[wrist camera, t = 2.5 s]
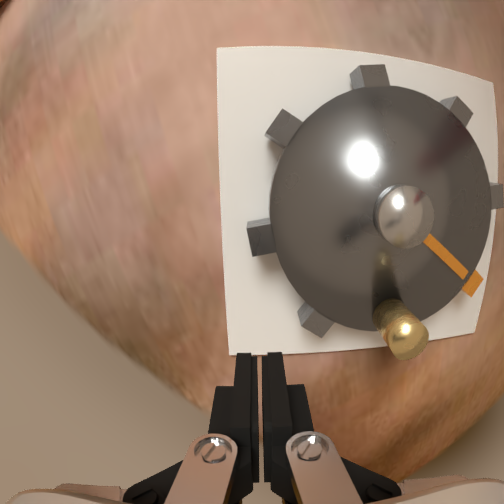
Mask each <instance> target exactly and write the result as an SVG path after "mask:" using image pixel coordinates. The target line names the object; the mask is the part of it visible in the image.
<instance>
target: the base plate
mask: <svg viewBox="0 0 504 504" xmlns="http://www.w3.org/2000/svg"><path fill="white" fill-rule="evenodd" d="M375 64H385V67H386V71H387V74H388V78H389V82H390V86H400V87H404V88H408V89H412V90H415V91H418V92H420V93H423V94H425V95H427V96H429V97H431V98H433V99H434V100H436V101H438V102H440V101H441V100H443V99H446V98H450V97H454V96H458V97H459V98H460V99H461V100H462V101H463V102H464V103H465V104H466V106H467V107H468V108H469V109H470V110H471V111H472V112H473V115H472V117H471V119H470V121H469V123H468V125H467V126H466V129H467V130H468V131H469V133H470V134H471V136H472V137H473V139H474V141H475V142H476V144H477V146H478V148H479V150H480V153H481V155H482V157H483V160H484V163H485V166H486V169H487V173H488V177H489V182H493V183H498V133H497V116H496V104H495V95H494V86H493V82H490V81H487V80H484V79H481V78H478V77H475V76H472V75H468V74H465V73H462V72H458V71H455V70H451V69H447V68H443V67H440V66H435V65H431V64H427V63H423V62H418V61H413V60H408V59H403V58H398V57H392V56H387V55H380V54H374V53H367V52H359V51H351V50H341V49H330V48H316V47H296V46H245V47H225V48H217V103H218V144H219V175H220V201H221V224H222V245H223V264H224V282H225V298H226V314H227V329H228V344H229V355H237V353H251V355H267V352H282V354H297V353H315V352H330V351H343V350H355V349H365V348H375V347H384V346H388V345H387V344H386V342H385V341H384V339H383V338H382V336H381V335H380V333H379V332H378V331H363V330H357V329H353V328H349V327H345V326H343V325H340V324H338V323H334V324H333V325H332V326H331V328H330V329H329V330H328V331H327V332H326V334H325V335H324V336H323V337H322V338H320V337H319V336H317V335H315V334H313V333H312V332H310V331H308V330H306V329H305V328H303V327H301V324H300V320H299V317H298V313H297V311H298V310H299V308H300V307H301V306H302V304H303V303H304V302H305V301H304V300H303V299H302V297H301V296H300V295H299V294H298V293H297V292H296V290H295V289H294V287H293V286H292V285H291V283H290V282H289V280H288V278H287V277H286V275H285V273H284V271H283V269H282V267H281V265H280V262H279V259H278V256H277V254H276V252H275V253H270V254H265V255H260V256H255V257H252V253H251V248H250V244H249V239H248V234H247V229H246V227H247V222H248V221H254V220H259V219H264V218H269V210H268V208H269V191H270V186H271V180H272V176H273V172H274V169H275V166H276V163H277V160H278V158H279V156H280V154H281V152H282V150H283V148H282V147H280V146H279V145H277V144H276V143H274V142H273V141H271V140H270V139H268V138H266V137H265V136H264V135H265V132H266V131H267V130H268V128H269V127H270V125H271V124H272V122H273V121H274V120H275V118H276V117H277V115H278V114H279V112H280V111H281V110H282V108H283V109H284V110H286V111H287V112H289V113H290V114H292V115H293V116H295V117H296V118H298V119H299V120H301V121H302V122H303V121H304V120H305V119H306V118H307V117H309V116H310V115H311V114H312V113H313V112H314V111H316V110H317V109H318V108H319V107H320V106H322V105H323V104H325V103H326V102H328V101H330V100H331V99H333V98H334V97H336V96H338V95H341V94H343V93H345V92H348V91H350V90H353V87H352V83H351V79H350V75H349V74H350V73H351V72H352V71H353V70H355V69H356V68H357V67H358V66H359V65H375ZM495 217H496V209H493V210H491V221H490V228H489V233H488V237H487V241H486V245H485V248H484V251H483V253H482V256H481V259H480V261H479V263H478V265H477V267H476V269H475V270H476V271H477V272H478V273H479V274H480V275H481V276H482V277H483V281H482V283H481V284H480V286H479V287H478V289H477V290H476V291H475V293H474V294H473V296H472V297H470V296H469V295H467V294H466V293H464V292H463V291H462V290H461V291H460V292H459V293H458V294H457V295H456V296H455V297H454V298H453V299H452V300H451V301H450V302H449V303H448V304H447V305H446V306H444V307H443V308H442V309H440V310H439V311H438V312H436V313H435V314H433V315H432V316H430V317H428V318H427V319H425V320H422V321H420V322H421V323H422V324H423V325H424V326H425V327H426V328H427V330H428V332H429V340H435V339H442V338H448V337H453V336H459V335H465V334H470V333H474V332H475V328H476V324H477V320H478V317H479V313H480V308H481V304H482V300H483V295H484V291H485V286H486V281H487V275H488V270H489V264H490V258H491V251H492V244H493V236H494V227H495ZM429 340H428V341H429Z"/></svg>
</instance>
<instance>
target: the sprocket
mask: <svg viewBox="0 0 504 504" xmlns="http://www.w3.org/2000/svg"><path fill="white" fill-rule="evenodd" d="M349 75H350V79H351V83H352V87H353V90H350V91H348V92H345V93H343V94H341V95H338V96H336V97H334V98H333V99H331V100H330V101H328V102H326V103H325V104H323V105H322V106H320V107H319V108H318V109H317V110H316V111H314V112H313V113H312V114H311V115H310V116H309V117H307V118H306V119H305V120H304V121H303V122H302V121H301V120H299V119H298V118H296V117H295V116H293V115H292V114H290V113H289V112H287V111H286V110H284V109H283V108H282V110H281V111H280V112H279V114H278V115H277V117H276V118H275V120H274V121H273V122H272V124H271V125H270V127H269V128H268V130H267V131H266V132H265V135H264V136H265V137H266V138H268V139H270V140H271V141H273V142H274V143H276V144H277V145H279V146H280V147H282V148H283V150H282V152H281V154H280V156H279V158H278V160H277V163H276V166H275V169H274V172H273V176H272V180H271V186H270V191H269V208H268V210H269V218H264V219H259V220H254V221H248V222H247V227H246V229H247V234H248V239H249V244H250V248H251V253H252V257H255V256H260V255H265V254H270V253H275V252H276V254H277V256H278V259H279V262H280V265H281V267H282V269H283V271H284V273H285V275H286V277H287V278H288V280H289V282H290V283H291V285H292V286H293V287H294V289H295V290H296V292H297V293H298V294H299V295H300V296H301V297H302V299H303V300H304V301H305V302H304V303H303V304H302V306H301V307H300V308H299V310H298V311H297V313H298V317H299V320H300V324H301V327H303V328H305V329H306V330H308V331H310V332H312V333H313V334H315V335H317V336H319V337H320V338H322V337H323V336H324V335H325V334H326V332H327V331H328V330H329V329H330V328H331V326H332V325H333V324H334V323H338V324H340V325H343V326H345V327H349V328H353V329H357V330H363V331H378V332H379V333H380V335H381V336H382V338H383V339H384V341H385V342H386V344H387V345H388V347H389V348H390V350H391V351H392V353H393V354H394V356H395V357H396V358H398V359H400V360H409V359H412V358H414V357H416V356H417V355H419V354H420V353H421V352H422V351H423V350H424V348H425V347H426V345H427V343H428V340H429V332H428V330H427V328H426V327H425V326H424V325H423V324H422V323H421V322H420V321H422V320H425V319H427V318H428V317H430V316H432V315H433V314H435V313H436V312H438V311H439V310H440V309H442V308H443V307H444V306H446V305H447V304H448V303H449V302H450V301H451V300H452V299H453V298H454V297H455V296H456V295H457V294H458V293H459V292H460V291H461V290H462V291H463V292H464V293H466V294H467V295H469V296H470V297H472V296H473V294H474V293H475V291H476V290H477V289H478V287H479V286H480V284H481V283H482V281H483V277H482V276H481V275H480V274H479V273H478V272H477V271H476V270H475V269H476V267H477V265H478V263H479V261H480V259H481V256H482V253H483V251H484V248H485V245H486V241H487V237H488V233H489V228H490V221H491V210H493V209H498V208H503V207H504V203H503V184H499V183H493V182H489V177H488V173H487V169H486V166H485V163H484V160H483V157H482V155H481V153H480V150H479V148H478V146H477V144H476V142H475V141H474V139H473V137H472V136H471V134H470V133H469V131H468V130H467V129H466V126H467V125H468V123H469V121H470V119H471V117H472V115H473V112H472V111H471V110H470V109H469V108H468V107H467V106H466V104H465V103H464V102H463V101H462V100H461V99H460V98H459V97H458V96H454V97H450V98H446V99H443V100H441V101H440V102H438V101H436V100H434V99H433V98H431V97H429V96H427V95H425V94H423V93H420V92H418V91H415V90H412V89H408V88H404V87H400V86H390V82H389V78H388V74H387V71H386V67H385V64H375V65H359V66H358V67H357V68H356V69H355V70H353V71H352V72H351V73H350V74H349Z"/></svg>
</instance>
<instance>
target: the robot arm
mask: <svg viewBox="0 0 504 504" xmlns="http://www.w3.org/2000/svg"><path fill="white" fill-rule="evenodd" d="M262 413H263V449H264V482H271V490H272V492H274V493H276V494H277V495H279V496H280V497H282V504H504V481H502V480H499V479H490V478H488V479H487V478H483V479H467V478H466V477H464V476H462V475H449V476H441V477H433V478H423V479H411V480H403V482H402V483H396V482H394V481H392V480H391V479H389V478H386V477H384V476H382V475H379V474H377V473H375V472H372V471H370V470H368V469H366V468H363V467H361V466H359V465H357V464H355V463H353V462H351V461H348V460H346V459H344V458H342V457H340V456H339V454H338V452H337V450H336V448H335V446H334V443H333V442H332V441H331V439H330V438H329V437H327V436H326V435H325V434H322V433H319V432H314V429H313V424H312V419H311V414H310V409H309V405H308V400H307V395H306V391H305V386H304V384H297V385H287V384H286V377H285V370H284V363H283V356H282V352H267V356H262ZM257 482H259V424H258V374H257V356H251V353H237V356H236V367H235V378H234V386H216V389H215V395H214V401H213V407H212V413H211V419H210V425H209V431H208V434H206V435H202V436H200V437H198V438H196V439H195V440H194V441H193V442H192V443H191V445H190V446H189V449H188V451H187V453H186V455H185V458H184V460H182V461H180V462H178V463H177V464H175V465H173V466H171V467H169V468H167V469H165V470H163V471H161V472H159V473H157V474H155V475H153V476H151V477H149V478H147V479H145V480H143V481H141V482H139V483H137V484H134V485H133V486H131V487H130V488H128V489H121V488H120V486H95V485H81V484H61V485H59V486H57V487H56V488H55V489H29V490H24V491H21V492H18V493H17V494H15V495H14V496H13V497H11V498H10V499H9V500H8V501H7V502H6V504H242V498H244V497H245V496H247V495H248V494H249V493H251V492H252V490H253V483H257Z"/></svg>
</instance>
